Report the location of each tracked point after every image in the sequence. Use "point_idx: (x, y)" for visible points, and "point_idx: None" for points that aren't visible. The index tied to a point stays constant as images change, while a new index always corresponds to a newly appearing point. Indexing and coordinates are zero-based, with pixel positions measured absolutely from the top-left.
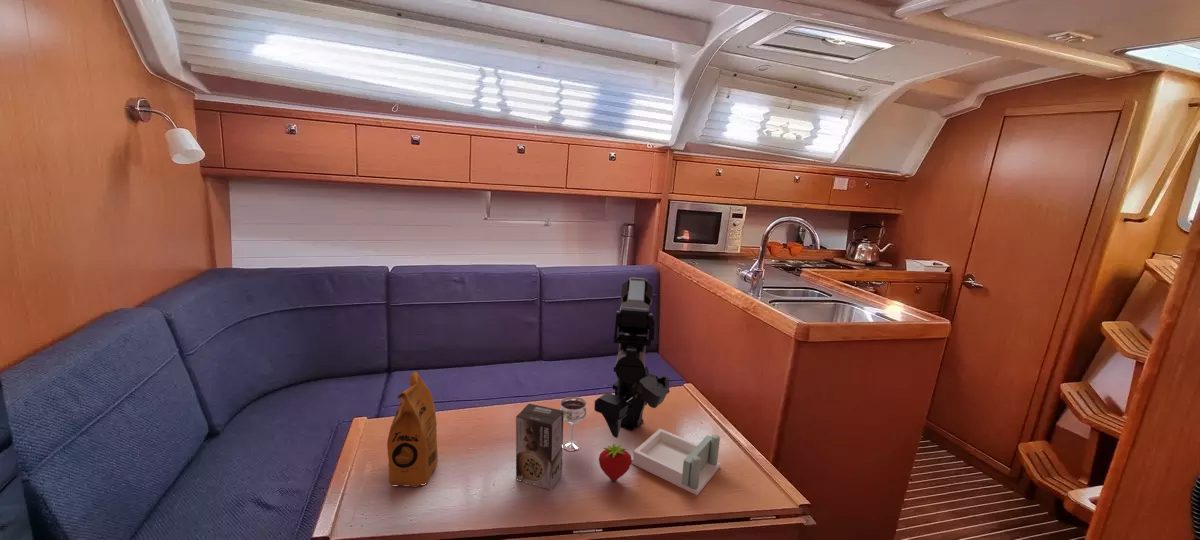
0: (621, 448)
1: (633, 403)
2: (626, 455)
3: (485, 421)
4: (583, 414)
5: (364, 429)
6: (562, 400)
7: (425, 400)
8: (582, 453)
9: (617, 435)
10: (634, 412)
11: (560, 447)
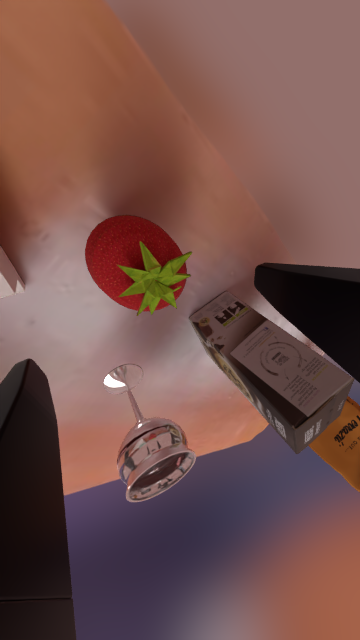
0: (133, 277)
1: (56, 507)
2: (125, 245)
3: (188, 440)
4: (148, 440)
5: (262, 429)
6: (173, 482)
7: (338, 450)
8: (120, 355)
9: (280, 264)
10: (51, 420)
11: (238, 348)
